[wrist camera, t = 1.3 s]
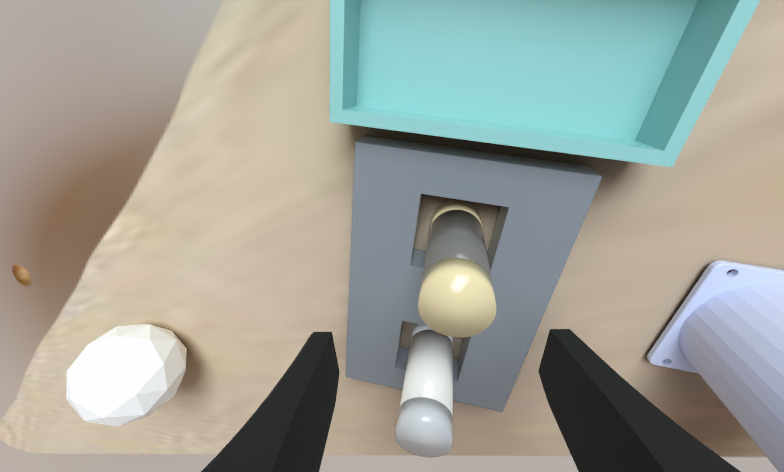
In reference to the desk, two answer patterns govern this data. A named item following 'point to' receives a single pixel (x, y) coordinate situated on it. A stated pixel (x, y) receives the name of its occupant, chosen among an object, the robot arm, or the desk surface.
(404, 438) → the fuse
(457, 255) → the led light bulb
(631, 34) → the tray
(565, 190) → the fuse block
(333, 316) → the desk surface
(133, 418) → the geometric ball
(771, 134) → the desk surface
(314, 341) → the robot arm
